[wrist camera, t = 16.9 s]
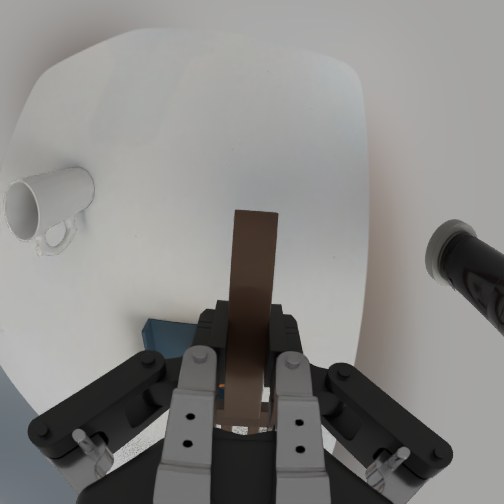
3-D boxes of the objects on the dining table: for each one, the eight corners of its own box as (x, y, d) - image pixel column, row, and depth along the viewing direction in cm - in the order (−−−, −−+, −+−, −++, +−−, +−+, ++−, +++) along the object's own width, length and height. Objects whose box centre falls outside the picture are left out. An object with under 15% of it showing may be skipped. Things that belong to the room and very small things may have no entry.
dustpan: (148, 318, 39) (141, 331, 36) (260, 329, 40) (260, 344, 36) (167, 409, 48) (163, 422, 45) (248, 419, 49) (248, 432, 46)
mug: (56, 171, 31) (-2, 188, 20) (91, 159, 30) (31, 172, 19) (71, 237, 34) (21, 271, 23) (106, 230, 34) (56, 267, 23)
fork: (203, 211, 14) (194, 207, 11) (306, 219, 14) (318, 216, 11) (199, 459, 15) (194, 482, 12) (274, 464, 15) (277, 487, 12)
